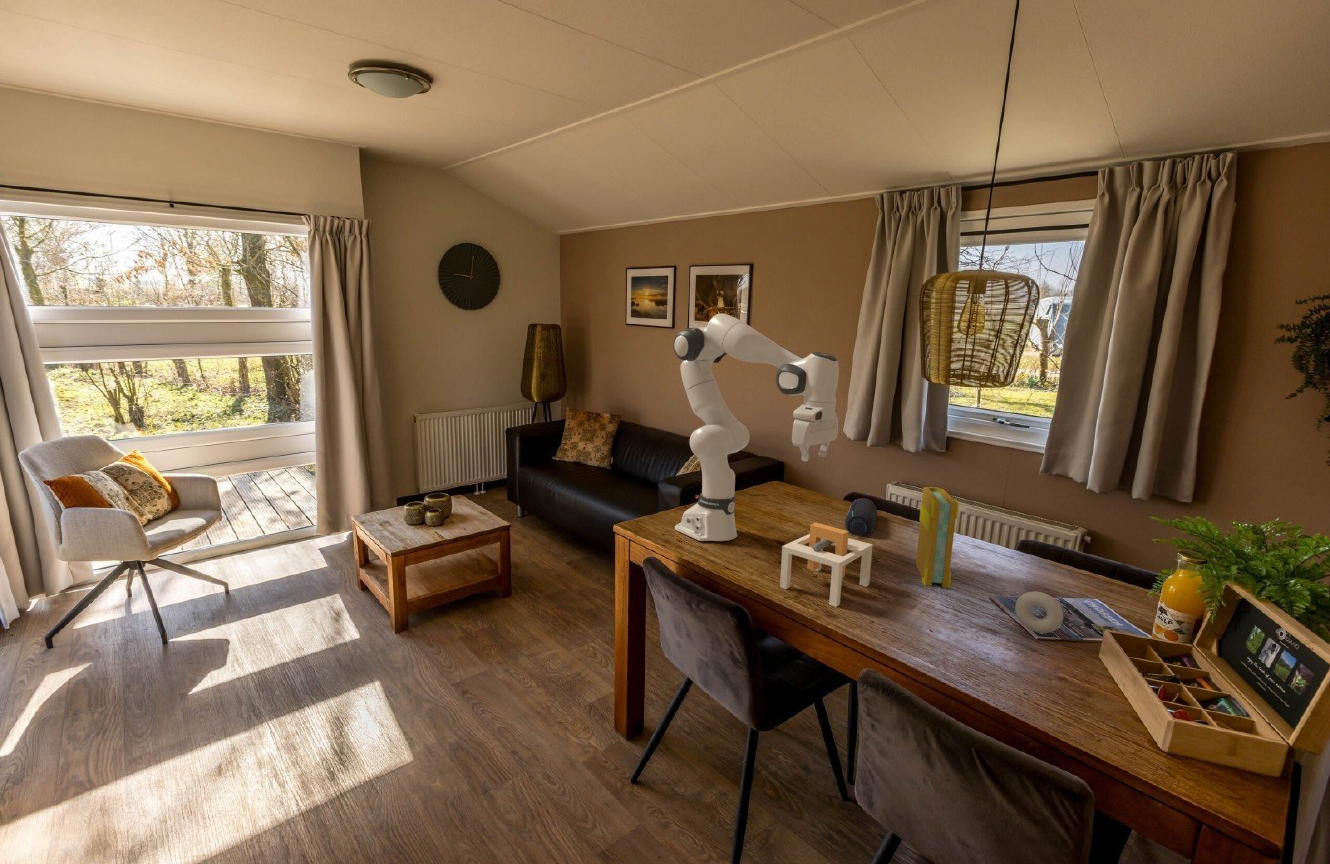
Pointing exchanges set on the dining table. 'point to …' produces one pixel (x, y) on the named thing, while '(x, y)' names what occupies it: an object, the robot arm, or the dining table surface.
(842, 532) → the orange arch
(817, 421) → the robot arm
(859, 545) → the white miniature table
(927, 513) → the book
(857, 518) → the portable speaker
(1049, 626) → the donut
